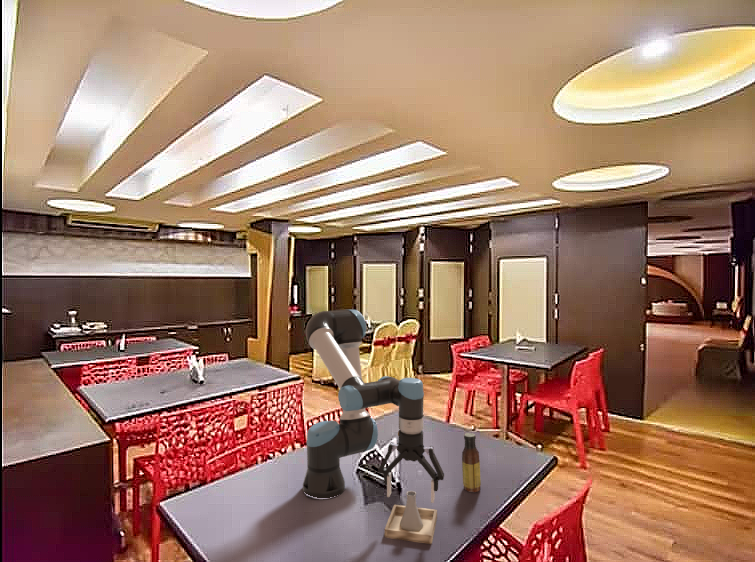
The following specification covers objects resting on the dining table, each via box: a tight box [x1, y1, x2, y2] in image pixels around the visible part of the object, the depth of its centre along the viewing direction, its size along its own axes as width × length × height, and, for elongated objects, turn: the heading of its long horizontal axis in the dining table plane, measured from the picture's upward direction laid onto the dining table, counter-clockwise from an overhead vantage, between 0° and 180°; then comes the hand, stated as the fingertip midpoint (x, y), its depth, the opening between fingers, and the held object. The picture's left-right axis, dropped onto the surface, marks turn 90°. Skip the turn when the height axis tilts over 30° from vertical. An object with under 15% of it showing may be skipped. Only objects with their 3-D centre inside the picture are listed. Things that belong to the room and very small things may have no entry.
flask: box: [400, 490, 423, 531], centre depth 134 cm, size 7×7×10 cm
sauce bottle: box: [461, 432, 482, 493], centre depth 157 cm, size 6×6×20 cm
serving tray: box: [383, 504, 438, 545], centre depth 135 cm, size 14×14×2 cm
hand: (410, 497), depth 135 cm, fingers open, 13 cm apart
